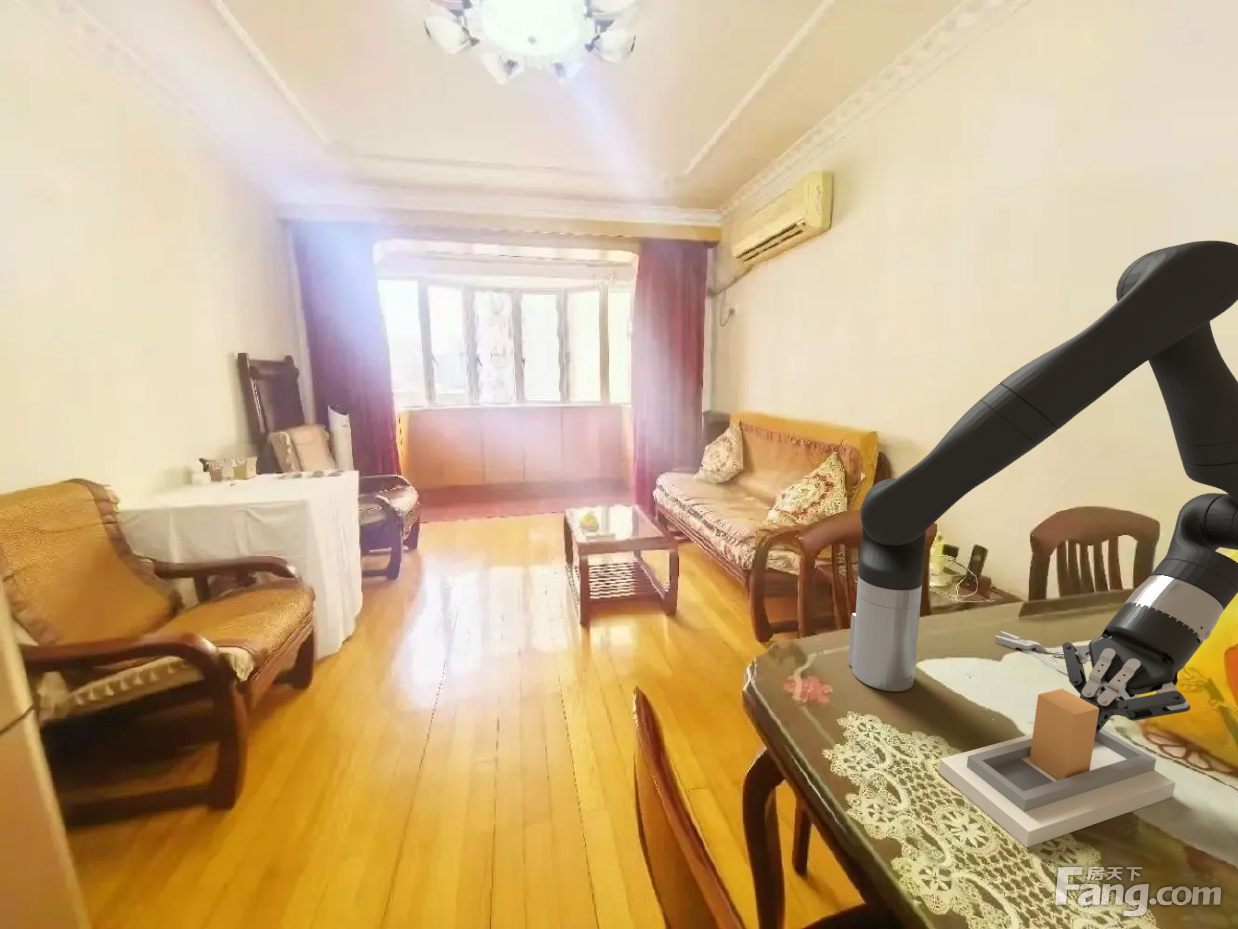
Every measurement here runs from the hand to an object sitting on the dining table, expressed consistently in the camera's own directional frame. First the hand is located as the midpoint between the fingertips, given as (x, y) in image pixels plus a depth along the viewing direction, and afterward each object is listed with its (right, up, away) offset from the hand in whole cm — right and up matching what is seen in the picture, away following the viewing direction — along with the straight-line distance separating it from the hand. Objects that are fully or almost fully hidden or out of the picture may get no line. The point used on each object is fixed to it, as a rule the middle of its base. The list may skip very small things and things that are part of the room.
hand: (1077, 729), depth 63 cm
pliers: (+19, -2, +28) cm, 34 cm away
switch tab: (-2, -5, 0) cm, 5 cm away
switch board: (-3, -7, 0) cm, 8 cm away
